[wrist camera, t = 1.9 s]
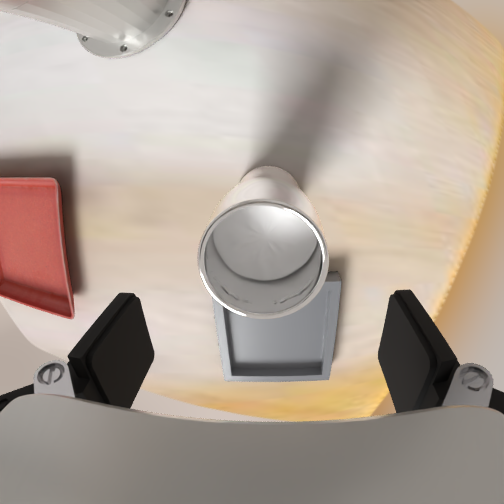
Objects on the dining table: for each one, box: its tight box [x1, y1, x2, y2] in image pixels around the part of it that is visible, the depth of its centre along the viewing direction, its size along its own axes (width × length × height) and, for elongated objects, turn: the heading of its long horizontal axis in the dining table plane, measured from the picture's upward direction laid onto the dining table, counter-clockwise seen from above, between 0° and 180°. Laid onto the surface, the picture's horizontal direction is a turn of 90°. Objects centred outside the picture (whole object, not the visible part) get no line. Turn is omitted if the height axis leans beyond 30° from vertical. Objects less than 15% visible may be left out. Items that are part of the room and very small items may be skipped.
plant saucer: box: [0, 177, 74, 319], centre depth 31 cm, size 18×18×3 cm
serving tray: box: [212, 271, 341, 382], centre depth 33 cm, size 14×13×2 cm
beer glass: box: [198, 166, 329, 319], centre depth 22 cm, size 7×7×15 cm
